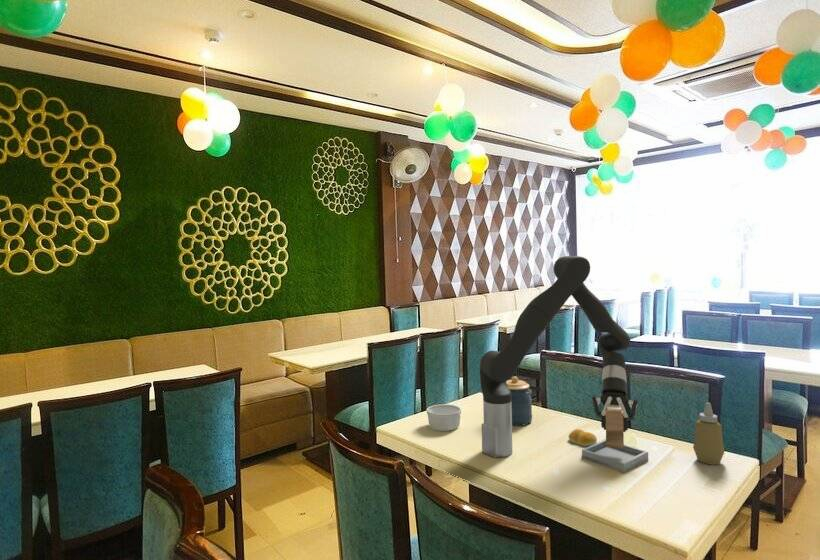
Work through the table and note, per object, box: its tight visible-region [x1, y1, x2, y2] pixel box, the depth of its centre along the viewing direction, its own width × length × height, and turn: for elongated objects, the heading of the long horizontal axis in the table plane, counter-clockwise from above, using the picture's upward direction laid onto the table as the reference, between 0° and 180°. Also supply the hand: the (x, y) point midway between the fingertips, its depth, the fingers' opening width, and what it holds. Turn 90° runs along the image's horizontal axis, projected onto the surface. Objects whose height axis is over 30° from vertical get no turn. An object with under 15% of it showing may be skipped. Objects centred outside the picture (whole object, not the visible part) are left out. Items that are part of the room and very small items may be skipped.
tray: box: [581, 438, 649, 473], centre depth 147 cm, size 14×14×2 cm
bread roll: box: [568, 428, 598, 447], centre depth 162 cm, size 8×9×4 cm
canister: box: [506, 375, 533, 426], centre depth 185 cm, size 13×13×18 cm
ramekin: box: [426, 403, 462, 432], centre depth 180 cm, size 13×13×7 cm
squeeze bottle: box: [692, 402, 725, 465], centre depth 143 cm, size 8×8×18 cm
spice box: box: [605, 404, 625, 448], centre depth 147 cm, size 5×5×12 cm
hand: (614, 429), depth 145 cm, fingers closed on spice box, 5 cm apart
